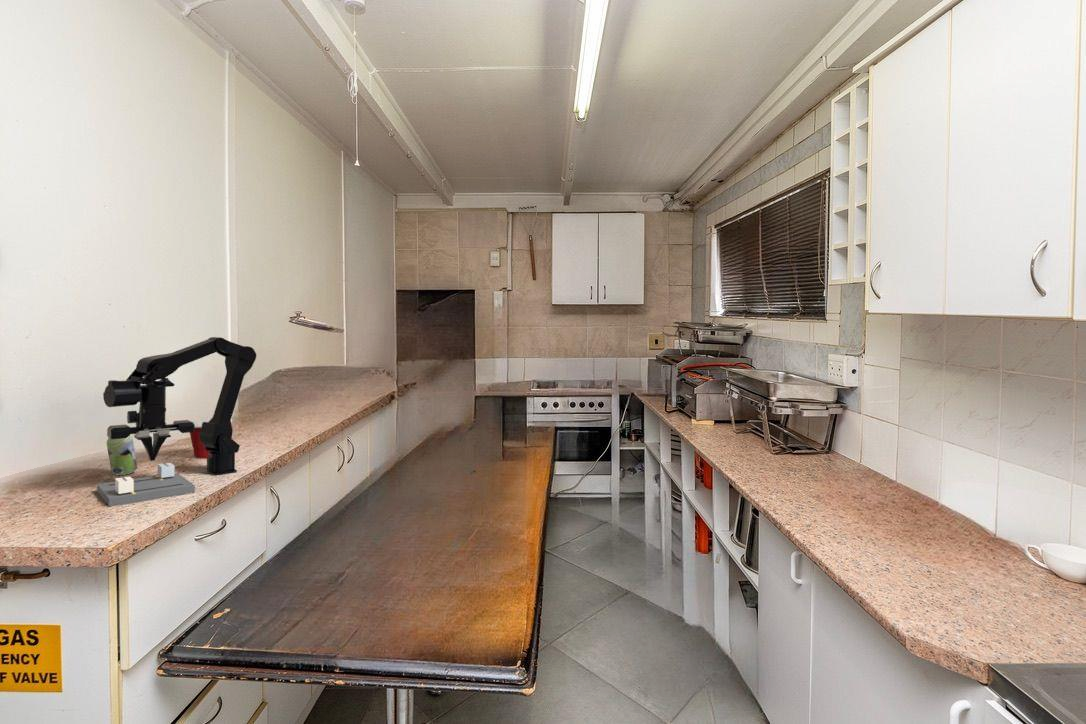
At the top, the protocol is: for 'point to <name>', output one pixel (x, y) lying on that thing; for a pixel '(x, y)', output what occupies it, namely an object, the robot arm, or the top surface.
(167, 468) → the white fader
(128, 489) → the cream fader
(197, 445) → the plastic cup
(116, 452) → the beverage can
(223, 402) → the robot arm
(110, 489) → the console
